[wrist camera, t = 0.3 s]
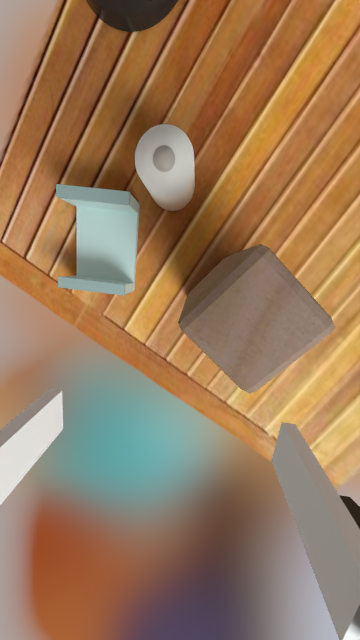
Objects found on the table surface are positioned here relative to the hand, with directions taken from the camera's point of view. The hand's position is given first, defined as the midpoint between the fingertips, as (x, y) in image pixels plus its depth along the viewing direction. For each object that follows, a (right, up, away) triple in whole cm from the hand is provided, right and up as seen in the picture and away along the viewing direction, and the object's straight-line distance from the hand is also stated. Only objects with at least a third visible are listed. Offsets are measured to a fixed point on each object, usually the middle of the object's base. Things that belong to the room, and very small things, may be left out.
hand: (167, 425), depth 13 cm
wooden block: (+9, +10, +25) cm, 28 cm away
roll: (0, +27, +21) cm, 34 cm away
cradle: (-11, +19, +24) cm, 33 cm away
